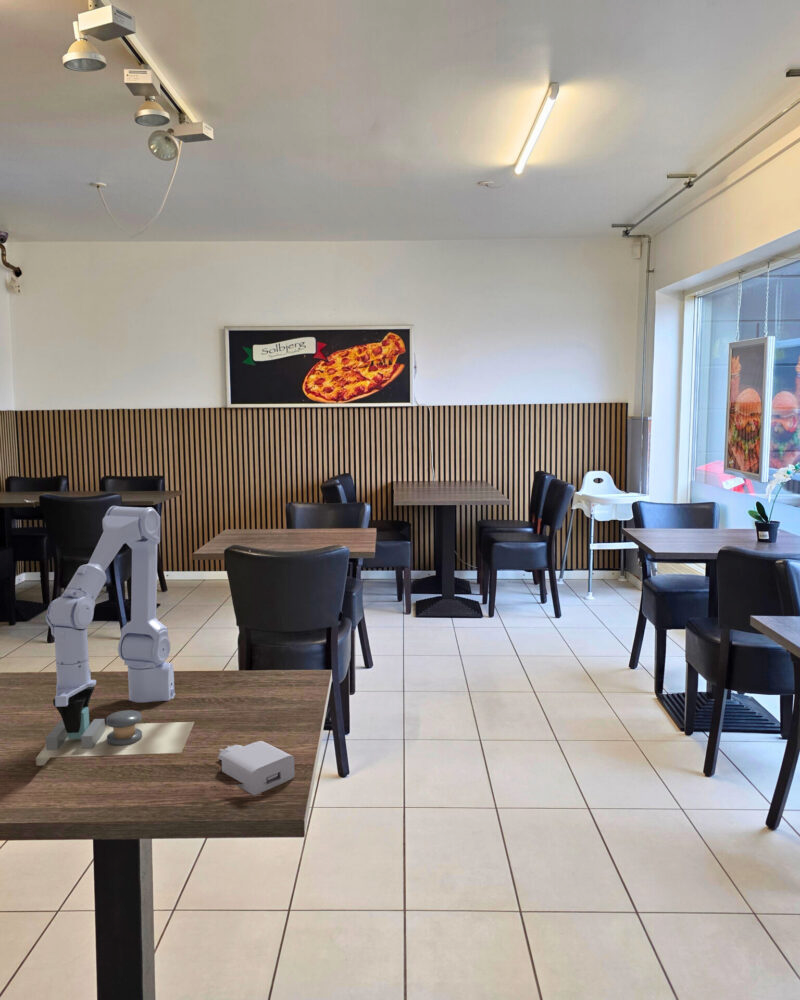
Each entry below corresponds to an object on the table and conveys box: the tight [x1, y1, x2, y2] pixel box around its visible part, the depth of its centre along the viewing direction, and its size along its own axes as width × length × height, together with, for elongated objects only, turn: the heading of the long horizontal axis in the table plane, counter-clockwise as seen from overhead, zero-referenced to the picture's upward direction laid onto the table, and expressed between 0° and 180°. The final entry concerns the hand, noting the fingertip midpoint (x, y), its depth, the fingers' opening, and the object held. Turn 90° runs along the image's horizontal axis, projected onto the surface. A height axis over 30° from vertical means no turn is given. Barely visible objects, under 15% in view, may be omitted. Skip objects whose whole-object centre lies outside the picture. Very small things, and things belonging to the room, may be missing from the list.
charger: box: [217, 740, 295, 796], centre depth 140 cm, size 5×9×15 cm
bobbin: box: [105, 709, 142, 746], centre depth 150 cm, size 6×6×4 cm
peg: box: [68, 706, 90, 739], centre depth 149 cm, size 3×3×5 cm
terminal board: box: [35, 721, 195, 766], centre depth 150 cm, size 26×14×2 cm, turn 95°
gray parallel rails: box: [45, 718, 106, 750], centre depth 150 cm, size 8×8×2 cm
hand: (76, 728), depth 149 cm, fingers closed on peg, 3 cm apart
